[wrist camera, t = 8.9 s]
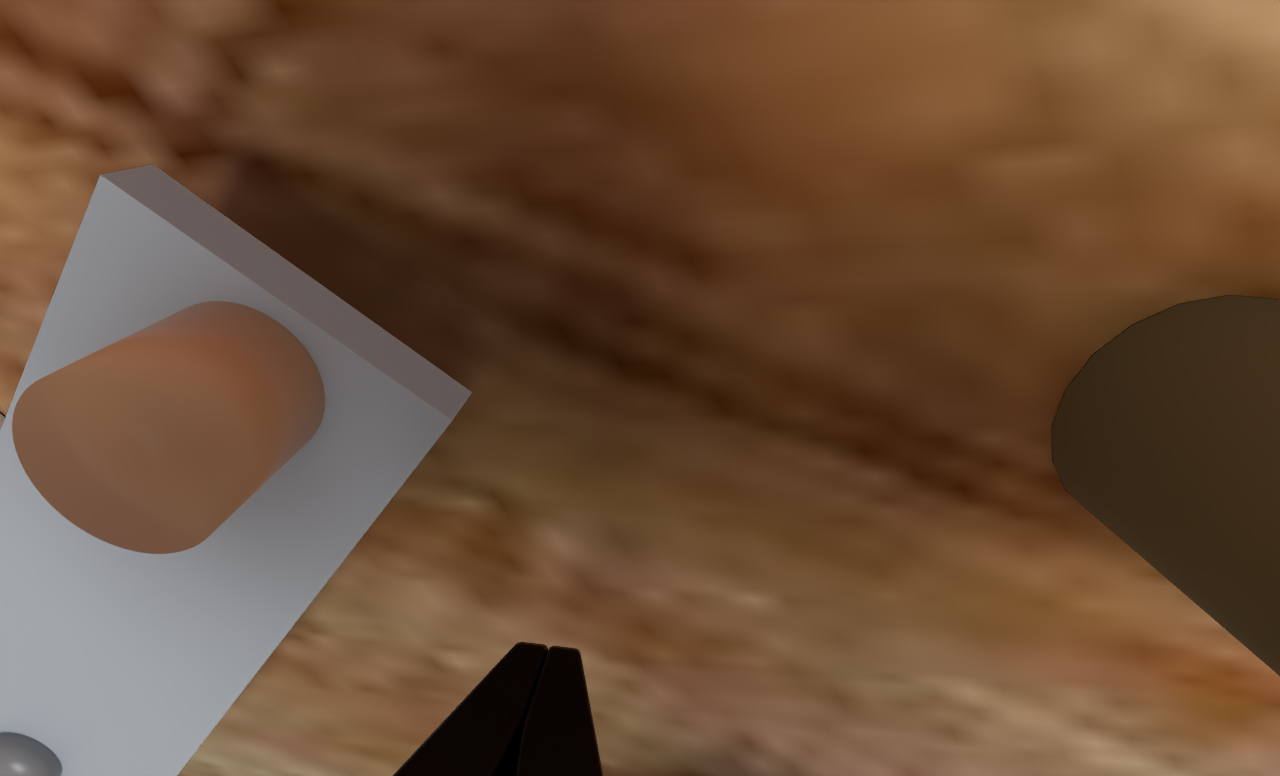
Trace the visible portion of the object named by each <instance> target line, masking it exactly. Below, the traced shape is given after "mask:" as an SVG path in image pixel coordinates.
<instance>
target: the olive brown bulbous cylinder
mask: <svg viewBox="0 0 1280 776" xmlns="http://www.w3.org/2000/svg"><path fill="white" fill-rule="evenodd" d="M1052 461H1053V463H1054V466H1055V468H1056V470H1057V472H1058V474H1059V477H1060V479H1061V481H1062V483H1063V486H1064V488H1065V490H1066V491H1067V492H1068V493H1070V494H1071V495H1072V496H1073V497H1074V498H1075V499H1076V500H1077V501H1078V502H1079V503H1081V504H1082V505H1083V506H1084V507H1085V508H1086V509H1087V510H1088V511H1089V512H1090V513H1092V514H1093V515H1094V516H1095V517H1096V518H1097V519H1099V520H1100V521H1101V522H1102V523H1103V524H1104V525H1105V526H1107V527H1108V528H1109V529H1110V530H1111V531H1112V532H1114V533H1115V534H1116V535H1117V536H1118V537H1119V538H1121V539H1122V540H1123V541H1124V542H1125V543H1126V544H1127V545H1129V546H1130V547H1131V548H1132V549H1133V550H1134V551H1136V552H1137V553H1138V554H1139V555H1140V556H1141V557H1143V558H1144V559H1145V560H1146V561H1147V562H1148V563H1149V564H1151V565H1152V566H1153V567H1154V568H1155V569H1156V570H1158V571H1159V572H1160V573H1161V574H1162V575H1163V576H1165V577H1166V578H1167V579H1168V580H1169V581H1170V582H1171V583H1173V584H1174V585H1175V586H1176V587H1177V588H1178V589H1180V590H1181V591H1182V592H1183V593H1184V594H1185V595H1187V596H1188V597H1189V598H1190V599H1191V600H1192V601H1193V602H1195V603H1196V604H1197V605H1198V606H1199V607H1200V608H1202V609H1203V610H1204V611H1205V612H1206V613H1207V614H1209V615H1210V616H1211V617H1212V618H1213V619H1214V620H1215V621H1217V622H1218V623H1219V624H1220V625H1221V626H1222V627H1224V628H1225V629H1226V630H1227V631H1228V632H1229V633H1231V634H1232V635H1233V636H1234V637H1235V638H1236V639H1237V640H1239V641H1240V642H1241V643H1242V644H1243V645H1244V646H1246V647H1247V648H1248V649H1249V650H1250V651H1251V652H1252V653H1254V654H1255V655H1256V656H1257V657H1258V658H1259V659H1261V660H1262V661H1263V662H1264V663H1265V664H1266V665H1268V666H1269V667H1270V668H1271V669H1272V670H1273V671H1274V672H1276V673H1277V674H1278V675H1279V676H1280V300H1278V299H1269V298H1258V297H1247V296H1236V295H1227V296H1221V297H1216V298H1210V299H1205V300H1199V301H1193V302H1188V303H1182V304H1178V305H1176V306H1174V307H1172V308H1169V309H1167V310H1165V311H1163V312H1160V313H1158V314H1156V315H1154V316H1151V317H1149V318H1147V319H1145V320H1142V321H1140V322H1138V323H1136V324H1133V325H1132V326H1130V327H1129V328H1128V329H1126V330H1125V331H1124V332H1122V333H1121V334H1120V335H1118V336H1117V337H1116V338H1115V339H1113V340H1112V341H1111V342H1109V343H1108V344H1107V345H1105V346H1104V347H1103V348H1101V349H1100V350H1099V351H1098V352H1096V353H1095V354H1094V355H1093V356H1092V357H1091V358H1090V359H1089V361H1088V362H1087V363H1086V365H1085V366H1084V367H1083V368H1082V370H1081V371H1080V372H1079V374H1078V375H1077V376H1076V377H1075V379H1074V380H1073V381H1072V383H1071V384H1070V385H1069V386H1068V388H1067V389H1066V391H1065V393H1064V396H1063V398H1062V401H1061V404H1060V406H1059V409H1058V412H1057V414H1056V417H1055V420H1054V422H1053V425H1052Z"/></svg>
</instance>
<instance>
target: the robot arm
mask: <svg viewBox="0 0 1280 776" xmlns="http://www.w3.org/2000/svg"><path fill="white" fill-rule="evenodd" d="M393 776H603V772H602V767H601V762H600V756H599V751H598V745H597V740H596V735H595V729H594V724H593V718H592V713H591V708H590V702H589V697H588V691H587V686H586V680H585V675H584V670H583V664H582V659H581V654H580V652H579V650H578V649H575V648H568V647H560V646H552V647H550V648H549V650H548V647H547V646H545V645H543V644H535V643H527V642H520V643H517V644H516V645H515V646H514V647H513V648H512V649H511V650H510V651H509V652H508V653H507V654H506V655H505V656H504V657H503V658H502V659H501V660H500V662H499V663H498V664H497V665H496V666H495V667H494V668H493V669H492V670H491V671H490V672H489V673H488V674H487V675H486V676H485V678H484V679H483V680H482V681H481V682H480V683H479V684H478V685H477V686H476V687H475V688H474V689H473V690H472V691H471V693H470V694H469V695H468V696H467V697H466V698H465V699H464V700H463V701H462V702H461V703H460V704H459V705H458V706H457V708H456V709H455V710H454V711H453V712H452V713H451V714H450V715H449V716H448V717H447V718H446V719H445V720H444V721H443V722H442V724H441V725H440V726H439V727H438V728H437V729H436V730H435V731H434V732H433V733H432V734H431V735H430V736H429V737H428V739H427V740H426V741H425V742H424V743H423V744H422V745H421V746H420V747H419V748H418V749H417V750H416V751H415V752H414V753H413V755H412V756H411V757H410V758H409V759H408V760H407V761H406V762H405V763H404V764H403V765H402V766H401V767H400V768H399V770H398V771H397V772H396V773H395V774H394V775H393Z"/></svg>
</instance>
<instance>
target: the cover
mask: <svg viewBox="0 0 1280 776" xmlns="http://www.w3.org/2000/svg"><path fill="white" fill-rule="evenodd" d="M471 394H472V392H471V391H470V390H468V389H467V388H465V387H464V386H463V385H461V384H460V383H458V382H457V381H456V380H454V379H453V378H451V377H450V376H449V375H447V374H446V373H444V372H443V371H442V370H440V369H439V368H437V367H436V366H435V365H433V364H432V363H430V362H429V361H428V360H426V359H425V358H423V357H422V356H421V355H419V354H418V353H416V352H415V351H414V350H412V349H411V348H409V347H408V346H407V345H405V344H404V343H402V342H401V341H400V340H398V339H397V338H395V337H394V336H393V335H391V334H390V333H388V332H387V331H386V330H384V329H383V328H381V327H380V326H379V325H377V324H376V323H374V322H373V321H372V320H370V319H369V318H367V317H366V316H365V315H363V314H362V313H360V312H359V311H358V310H356V309H355V308H353V307H352V306H350V305H349V304H348V303H346V302H345V301H343V300H342V299H341V298H339V297H338V296H336V295H335V294H334V293H332V292H331V291H329V290H328V289H327V288H325V287H324V286H322V285H321V284H320V283H318V282H317V281H315V280H314V279H313V278H311V277H310V276H308V275H307V274H306V273H304V272H303V271H301V270H300V269H299V268H297V267H296V266H294V265H293V264H292V263H290V262H289V261H287V260H286V259H285V258H283V257H282V256H280V255H279V254H278V253H276V252H275V251H273V250H272V249H271V248H269V247H268V246H266V245H265V244H264V243H262V242H261V241H259V240H258V239H257V238H255V237H254V236H252V235H251V234H250V233H248V232H247V231H245V230H244V229H243V228H241V227H240V226H238V225H237V224H236V223H234V222H233V221H231V220H230V219H229V218H227V217H226V216H224V215H223V214H222V213H220V212H219V211H217V210H216V209H215V208H213V207H212V206H210V205H209V204H208V203H206V202H205V201H203V200H202V199H201V198H199V197H198V196H196V195H195V194H194V193H192V192H191V191H189V190H188V189H187V188H185V187H184V186H182V185H181V184H179V183H178V182H177V181H175V180H174V179H172V178H171V177H170V176H168V175H167V174H165V173H164V172H163V171H161V170H160V169H158V168H157V167H156V166H154V165H153V164H152V165H147V166H142V167H137V168H132V169H127V170H122V171H117V172H112V173H107V174H102V175H100V177H99V180H98V182H97V185H96V187H95V190H94V192H93V195H92V197H91V200H90V203H89V205H88V208H87V210H86V213H85V215H84V218H83V220H82V223H81V226H80V228H79V231H78V233H77V236H76V238H75V241H74V244H73V246H72V249H71V251H70V254H69V256H68V259H67V261H66V264H65V267H64V269H63V272H62V274H61V277H60V279H59V282H58V284H57V287H56V290H55V292H54V295H53V297H52V300H51V302H50V305H49V308H48V310H47V313H46V315H45V318H44V320H43V323H42V325H41V328H40V331H39V333H38V336H37V338H36V341H35V343H34V346H33V348H32V351H31V354H30V356H29V359H28V361H27V364H26V366H25V369H24V372H23V374H22V377H21V379H20V382H19V384H18V387H17V389H16V392H15V395H14V397H13V400H12V402H11V405H10V407H9V410H8V412H7V415H6V418H5V420H4V423H3V425H2V428H1V430H0V776H60V775H62V776H177V775H178V773H179V772H180V771H181V770H182V768H183V767H184V766H185V764H186V763H187V762H188V761H189V759H190V758H191V757H192V755H193V754H194V753H195V752H196V750H197V749H198V748H199V746H200V745H201V744H202V743H203V741H204V740H205V739H206V737H207V736H208V735H209V734H210V732H211V731H212V730H213V728H214V727H215V726H216V724H217V723H218V722H219V721H220V719H221V718H222V717H223V715H224V714H225V713H226V712H227V710H228V709H229V708H230V706H231V705H232V704H233V703H234V701H235V700H236V699H237V697H238V696H239V695H240V694H241V692H242V691H243V690H244V688H245V687H246V686H247V685H248V683H249V682H250V681H251V679H252V678H253V677H254V676H255V674H256V673H257V672H258V670H259V669H260V668H261V667H262V665H263V664H264V663H265V661H266V660H267V659H268V658H269V656H270V655H271V654H272V652H273V651H274V650H275V648H276V647H277V646H278V645H279V643H280V642H281V641H282V639H283V638H284V637H285V636H286V634H287V633H288V632H289V630H290V629H291V628H292V627H293V625H294V624H295V623H296V621H297V620H298V619H299V618H300V616H301V615H302V614H303V612H304V611H305V610H306V609H307V607H308V606H309V605H310V603H311V602H312V601H313V600H314V598H315V597H316V596H317V594H318V593H319V592H320V591H321V589H322V588H323V587H324V585H325V584H326V583H327V581H328V580H329V579H330V578H331V576H332V575H333V574H334V572H335V571H336V570H337V569H338V567H339V566H340V565H341V563H342V562H343V561H344V560H345V558H346V557H347V556H348V554H349V553H350V552H351V551H352V549H353V548H354V547H355V545H356V544H357V543H358V542H359V540H360V539H361V538H362V536H363V535H364V534H365V533H366V531H367V530H368V529H369V527H370V526H371V525H372V524H373V522H374V521H375V520H376V518H377V517H378V516H379V515H380V513H381V512H382V511H383V509H384V508H385V507H386V505H387V504H388V503H389V502H390V500H391V499H392V498H393V496H394V495H395V494H396V493H397V491H398V490H399V489H400V487H401V486H402V485H403V484H404V482H405V481H406V480H407V478H408V477H409V476H410V475H411V473H412V472H413V471H414V469H415V468H416V467H417V466H418V464H419V463H420V462H421V460H422V459H423V458H424V457H425V455H426V454H427V453H428V451H429V450H430V449H431V448H432V446H433V445H434V444H435V442H436V441H437V440H438V439H439V437H440V436H441V435H442V433H443V432H444V431H445V429H446V428H447V427H448V426H449V424H450V423H451V422H452V420H453V419H454V418H455V416H456V415H457V413H458V412H459V411H460V409H461V408H462V406H463V405H464V404H465V402H466V401H467V399H468V398H469V396H470V395H471Z"/></svg>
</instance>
